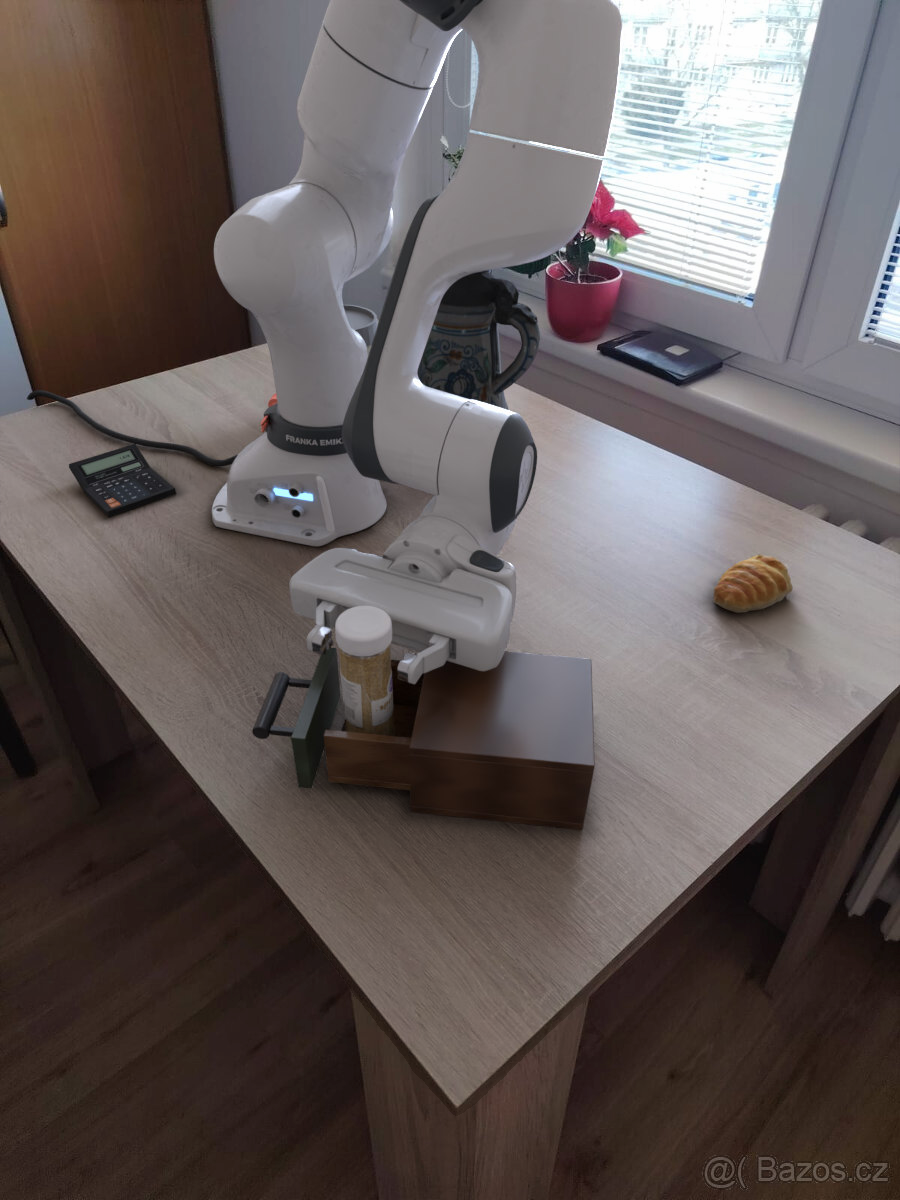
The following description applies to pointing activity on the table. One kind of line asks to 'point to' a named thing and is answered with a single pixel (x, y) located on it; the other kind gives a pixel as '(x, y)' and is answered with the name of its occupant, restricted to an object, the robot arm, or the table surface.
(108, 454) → the calculator
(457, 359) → the beer stein
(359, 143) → the robot arm
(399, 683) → the drawer
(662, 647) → the table surface
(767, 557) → the pastry
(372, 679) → the sprinkles bottle
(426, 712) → the cabinet
